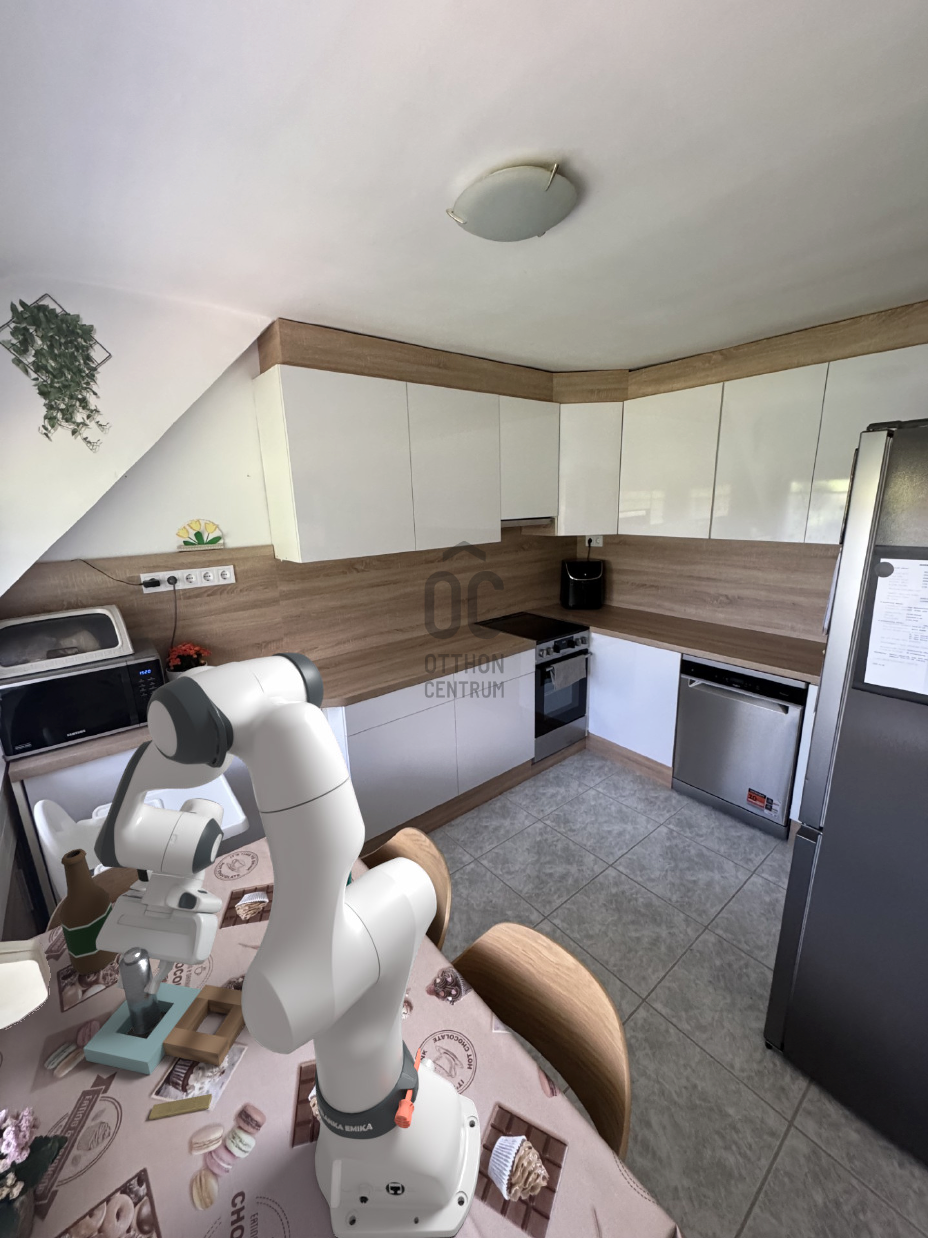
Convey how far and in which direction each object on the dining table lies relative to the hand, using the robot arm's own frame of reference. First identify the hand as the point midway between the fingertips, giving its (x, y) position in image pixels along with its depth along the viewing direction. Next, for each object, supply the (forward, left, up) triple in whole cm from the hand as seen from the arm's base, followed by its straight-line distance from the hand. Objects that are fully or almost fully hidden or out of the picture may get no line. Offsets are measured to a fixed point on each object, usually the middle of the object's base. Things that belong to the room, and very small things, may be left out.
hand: (136, 990), depth 81 cm
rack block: (0, -1, -9) cm, 9 cm away
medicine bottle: (+19, -25, -9) cm, 32 cm away
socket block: (-11, -3, -9) cm, 14 cm away
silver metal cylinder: (0, -1, -7) cm, 7 cm away
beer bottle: (+21, -11, -9) cm, 25 cm away
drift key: (-14, +8, -9) cm, 19 cm away
